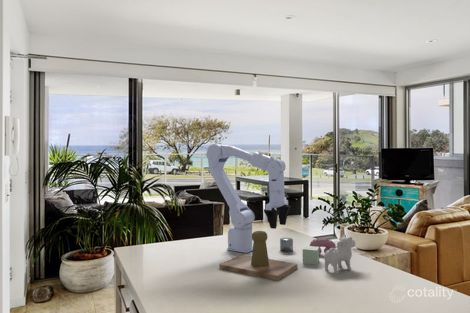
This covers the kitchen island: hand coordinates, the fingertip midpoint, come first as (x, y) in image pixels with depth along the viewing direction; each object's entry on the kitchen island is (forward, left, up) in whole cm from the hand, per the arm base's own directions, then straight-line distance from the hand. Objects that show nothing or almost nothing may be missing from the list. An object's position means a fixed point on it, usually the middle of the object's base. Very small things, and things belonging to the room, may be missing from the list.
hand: (278, 226), depth 142 cm
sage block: (+14, -3, -11) cm, 18 cm away
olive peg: (+3, -19, -9) cm, 21 cm away
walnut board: (+2, -19, -10) cm, 22 cm away
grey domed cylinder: (0, +6, -11) cm, 12 cm away
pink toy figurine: (+15, +7, -11) cm, 20 cm away
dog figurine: (+25, -5, -11) cm, 28 cm away
